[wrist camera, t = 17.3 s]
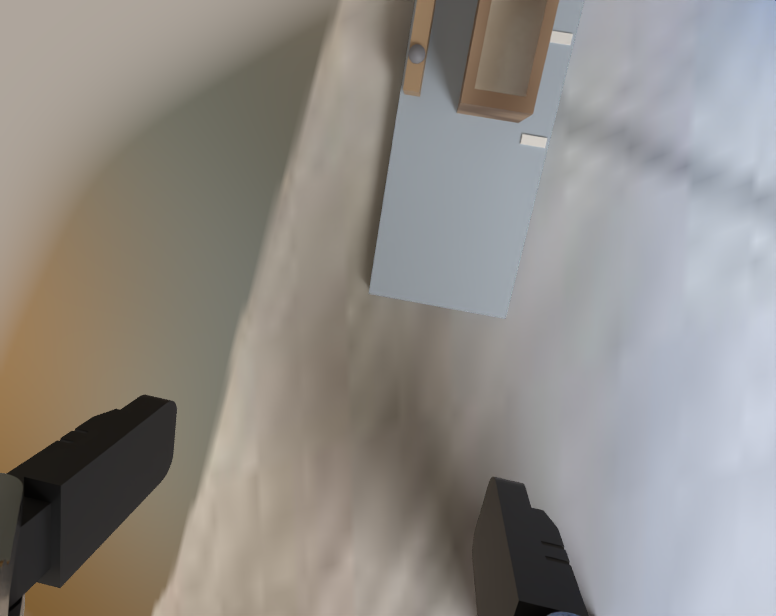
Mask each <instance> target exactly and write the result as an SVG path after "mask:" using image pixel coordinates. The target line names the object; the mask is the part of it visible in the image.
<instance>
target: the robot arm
mask: <svg viewBox="0 0 776 616" xmlns="http://www.w3.org/2000/svg"><path fill="white" fill-rule="evenodd" d="M176 414H177V407H176V404H175V402H174V401H170V400H166V399H162V398H157V397H153V396H148V395H142V396H140V397H138V398H137V399H135V400H134V401H132V402H131V403H130V404H128V405H127V406H125V407H124V408H122V409H121V410H118V409H114V410H112V411H109V412H106V413H103V414H100V415H97V416H94V417H92V418H91V419H89V420H88V421H86V422H84V423H83V424H81V425H80V426H78V427H77V428H76V429H75V431H71V432H69V433H68V434H66V435H65V436H63V437H62V438H61V440H60V441H56V442H54V443H52V444H51V445H49V446H48V447H46V448H45V449H43V450H42V451H40V452H39V453H37V454H36V455H34V456H33V457H31V458H30V459H28V460H27V461H25V462H24V463H22V464H20V465H19V466H17V467H16V468H14V469H13V470H11V471H10V472H8V473H7V474H4V473H0V616H23V613H24V606H25V593H26V592H27V591H28V590H29V589H30V588H31V587H32V586H33V585H34V584H35V583H36V582H38V583H42V584H46V585H50V586H54V587H58V588H61V587H62V586H63V584H64V583H65V582H66V581H67V580H68V579H69V578H70V577H71V576H72V575H73V574H74V573H75V572H76V571H77V570H78V569H79V568H80V567H81V565H82V564H83V563H84V562H85V561H86V560H87V559H88V558H89V557H90V556H91V555H92V554H93V553H94V552H95V550H97V549H98V548H99V547H100V545H101V544H102V543H103V542H104V541H105V540H106V539H107V538H108V537H109V536H110V535H111V534H112V533H113V532H114V531H115V530H116V529H117V528H118V527H119V525H121V523H122V522H123V521H124V520H125V519H126V518H127V517H128V516H129V515H130V514H131V513H132V512H133V511H134V510H135V509H136V508H137V507H138V506H139V505H140V504H141V502H142V501H143V500H144V499H145V498H146V497H147V496H148V495H149V494H150V493H151V492H152V491H153V490H154V489H155V488H156V487H157V485H159V484H160V483H161V481H162V480H163V479H164V477H165V476H166V474H167V472H168V470H169V468H170V465H171V462H172V458H173V450H174V438H175V426H176ZM472 559H473V570H474V581H475V592H476V603H477V614H478V616H588V613H587V610H586V607H585V604H584V602H583V599H582V596H581V593H580V590H579V587H578V584H577V582H576V579H575V576H574V573H573V570H572V567H571V566H570V565H569V559H568V556H567V553H566V550H564V545H563V542H562V539H561V536H560V533H559V530H558V528H557V527H556V525H555V524H554V523H553V522H552V520H551V519H550V518H549V517H548V516H547V514H546V513H545V512H544V511H543V510H539V509H535V508H531V505H530V502H529V498H528V495H527V491H526V488H525V485H524V484H523V483H519V482H514V481H510V480H506V479H501V478H497V477H492V478H491V479H490V481H489V484H488V487H487V491H486V494H485V498H484V501H483V505H482V508H481V512H480V515H479V518H478V522H477V525H476V529H475V533H474V539H473V549H472Z"/></svg>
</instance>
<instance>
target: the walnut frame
mask: <svg viewBox="0 0 776 616" xmlns="http://www.w3.org/2000/svg"><path fill="white" fill-rule="evenodd" d="M558 4H559V0H478V2H477V8H476V13H475V18H474V24H473V29H472V34H471V39H470V45H469V50H468V55H467V61H466V66H465V71H464V77H463V82H462V87H461V93H460V98H459V103H458V108H457V113H459V114H465V115H472V116H478V117H484V118H490V119H496V120H502V121H509V122H515V123H519V122H521V121H523V120H524V119H526V118H528V117H529V116H531V115H532V114H533V112H534V107H535V103H536V99H537V94H538V90H539V86H540V82H541V77H542V73H543V69H544V64H545V60H546V56H547V51H548V47H549V43H550V38H551V34H552V30H553V26H554V21H555V17H556V13H557V8H558Z"/></svg>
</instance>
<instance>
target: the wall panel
mask: <svg viewBox="0 0 776 616" xmlns="http://www.w3.org/2000/svg"><path fill="white" fill-rule="evenodd" d="M477 2H478V0H415V2H414V8H413V14H412V21H411V27H410V33H409V40H408V46H407V52H406V59H405V65H404V72H403V78H402V84H401V91H400V97H399V103H398V110H397V116H396V123H395V129H394V135H393V142H392V148H391V154H390V161H389V167H388V173H387V180H386V186H385V193H384V199H383V205H382V212H381V218H380V224H379V231H378V237H377V243H376V250H375V256H374V263H373V269H372V275H371V282H370V288H369V294H372V295H378V296H383V297H389V298H394V299H400V300H405V301H411V302H416V303H422V304H427V305H433V306H438V307H443V308H449V309H454V310H460V311H465V312H471V313H476V314H482V315H487V316H493V317H498V318H504V319H506V315H507V311H508V307H509V303H510V299H511V295H512V291H513V287H514V283H515V279H516V275H517V271H518V267H519V263H520V259H521V255H522V251H523V247H524V243H525V239H526V235H527V230H528V226H529V222H530V218H531V214H532V210H533V206H534V202H535V198H536V194H537V190H538V186H539V182H540V178H541V174H542V170H543V166H544V162H545V158H546V154H547V150H548V146H549V142H550V138H551V134H552V130H553V126H554V121H555V117H556V113H557V109H558V105H559V101H560V97H561V93H562V89H563V85H564V81H565V77H566V73H567V69H568V65H569V61H570V57H571V53H572V49H573V45H574V41H575V37H576V33H577V29H578V25H579V21H580V17H581V13H582V8H583V4H584V0H559V4H558V8H557V13H556V17H555V21H554V26H553V30H552V34H551V38H550V43H549V47H548V51H547V56H546V60H545V64H544V69H543V73H542V77H541V82H540V86H539V90H538V94H537V99H536V103H535V107H534V112H533V114H532V115H531V116H529V117H528V118H526V119H524V120H523V121H521V122H519V123H515V122H509V121H502V120H496V119H490V118H484V117H478V116H472V115H465V114H459V113H457V108H458V103H459V98H460V93H461V87H462V82H463V77H464V71H465V66H466V61H467V55H468V50H469V45H470V39H471V34H472V29H473V24H474V18H475V13H476V8H477Z"/></svg>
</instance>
